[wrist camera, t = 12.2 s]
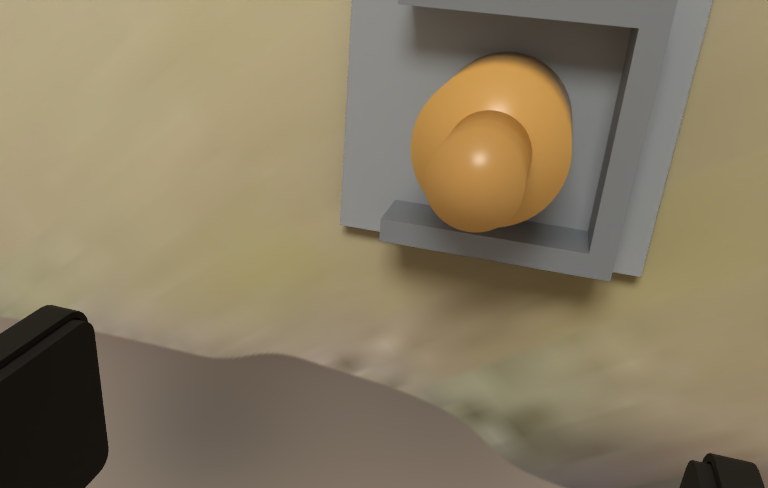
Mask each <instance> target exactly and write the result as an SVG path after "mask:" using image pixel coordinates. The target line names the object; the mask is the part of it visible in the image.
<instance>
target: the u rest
mask: <svg viewBox="0 0 768 488" xmlns="http://www.w3.org/2000/svg"><path fill="white" fill-rule="evenodd" d="M712 2H713V0H352V8H351V27H350V46H349V65H348V84H347V103H346V122H345V141H344V160H343V179H342V198H341V217H340V225H344V226H349V227H355V228H361V229H367V230H372V231H378V232H380V234H379V241H382V242H388V243H393V244H399V245H405V246H410V247H416V248H422V249H427V250H433V251H439V252H444V253H450V254H456V255H461V256H467V257H473V258H478V259H484V260H490V261H496V262H501V263H507V264H513V265H518V266H524V267H530V268H535V269H541V270H547V271H552V272H558V273H564V274H569V275H575V276H581V277H586V278H592V279H598V280H603V281H609V282H610V281H611V277H612V273H613V272H615V273H620V274H626V275H632V276H638V277H641V275H642V271H643V267H644V263H645V259H646V256H647V252H648V248H649V244H650V240H651V236H652V233H653V229H654V225H655V221H656V217H657V213H658V209H659V206H660V202H661V198H662V194H663V190H664V186H665V183H666V179H667V175H668V171H669V167H670V163H671V160H672V156H673V152H674V148H675V144H676V140H677V136H678V133H679V129H680V125H681V121H682V117H683V113H684V110H685V106H686V102H687V98H688V94H689V90H690V86H691V83H692V79H693V75H694V71H695V67H696V63H697V60H698V56H699V52H700V48H701V44H702V40H703V37H704V33H705V29H706V25H707V21H708V17H709V13H710V10H711V6H712ZM496 52H517V53H522V54H526V55H529V56H532V57H534V58H536V59H538V60H540V61H542V62H543V63H545V64H546V65H548V66H549V67H550V68H551V69H552V70H553V71H554V72H555V73H556V74H557V75H558V77H559V78H560V79H561V81H562V82H563V84H564V85H565V87H566V90H567V92H568V94H569V98H570V101H571V106H572V157H571V165H570V168H569V172H568V175H567V178H566V180H565V182H564V185H563V186H562V188H561V190H560V191H559V193H558V194H557V196H556V197H555V198H554V199H553V201H552V202H551V203H550V204H549V205H548V206H547V207H546V208H545V209H543V210H542V211H541V212H539V213H538V214H537V215H535V216H533V217H531V218H530V219H528V220H525V221H523V222H520V223H518V224H514V225H511V226H506V227H498V228H496V229H493V230H490V231H486V232H466V231H462V230H459V229H456V228H454V227H452V226H450V225H448V224H447V223H445V222H444V221H443V220H441V219H440V218H439V217H438V216H437V215H436V213H435V212H434V211H433V209H432V208H431V206H430V204H429V202H428V200H427V197H426V194H425V193H424V191H423V190H422V188H421V186H420V184H419V182H418V181H417V178H416V175H415V173H414V169H413V165H412V160H411V138H412V132H413V129H414V125H415V122H416V120H417V118H418V115H419V113H420V111H421V110H422V108H423V107H424V105H425V104H426V102H427V101H428V100H429V99H430V98H431V96H432V95H433V94H434V93H436V92H437V91H438V90H439V89H440V88H441V87H442V86H443V85H444V84H445V83H447V82H448V81H449V80H450V79H451V78H452V77H453V76H454V75H455V74H457V73H458V72H459V71H460V70H461V69H462V68H463V67H465V66H466V65H467V64H469V63H470V62H472V61H474V60H476V59H477V58H479V57H482V56H485V55H487V54H492V53H496Z"/></svg>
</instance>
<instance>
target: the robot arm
mask: <svg viewBox="0 0 768 488" xmlns="http://www.w3.org/2000/svg"><path fill="white" fill-rule="evenodd" d="M107 457H108V441H107V432H106V424H105V416H104V407H103V399H102V391H101V382H100V375H99V366H98V358H97V349H96V341H95V332H94V328H93V326H92V325H91V324H90V323H88V320H87V317H86V316H85V315H84V313H82V312H80V311H76V310H71V309H67V308H62V307H58V306H53V305H46V306H44V307H42V308H40V309H38V310H37V311H35V312H33V313H32V314H30V315H29V316H27V317H26V318H24V319H23V320H21V321H20V322H18V323H16V324H15V325H13V326H12V327H10V328H8V329H7V330H5V331H4V332H3V333H1V334H0V488H85V487H86V486H87V485H88V484H89V483H90V482H91V481H92V480H93V479H94V478H95V476H96V475H97V474H98V473H99V472H100V471H101V470H102V468H103V466H104V465H105V463H106V460H107ZM680 488H765V487H764V484H763V481H762V478H761V476H760V473H759V470H758V468H757V466H756V465H755V464H754V463H752V462H747V461H743V460H738V459H734V458H729V457H725V456H720V455H716V454H712V453H709V454H707V455H706V456H705V457H704V459H703V461H702V462H698V461H694V460H691V461H690V462H689V463H688V465H687V467H686V470H685V473H684V476H683V479H682V482H681V485H680Z"/></svg>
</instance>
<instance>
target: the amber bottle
mask: <svg viewBox="0 0 768 488" xmlns="http://www.w3.org/2000/svg"><path fill="white" fill-rule="evenodd" d="M571 157H572V106H571V101H570V98H569V94H568V92H567V90H566V87H565V85H564V84H563V82H562V81H561V79H560V78H559V77H558V75H557V74H556V73H555V72H554V71H553V70H552V69H551V68H550V67H549V66H548V65H546V64H545V63H543V62H542V61H540V60H538V59H536V58H534V57H532V56H529V55H526V54H522V53H517V52H496V53H492V54H487V55H485V56H482V57H479V58H477V59H476V60H474V61H472V62H470V63H469V64H467V65H466V66H465V67H463V68H462V69H461V70H460V71H459V72H458V73H457V74H455V75H454V76H453V77H452V78H451V79H450V80H449V81H448V82H447V83H445V84H444V85H443V86H442V87H441V88H440V89H439V90H438V91H437V92H436V93H434V94H433V95H432V96H431V98H430V99H429V100H428V101H427V102H426V104H425V105H424V107H423V108H422V110H421V111H420V113H419V115H418V118H417V120H416V122H415V125H414V129H413V132H412V138H411V160H412V165H413V169H414V173H415V175H416V178H417V181H418V182H419V184H420V186H421V188H422V190H423V191H424V193H425V194H426V197H427V200H428V202H429V204H430V206H431V208H432V209H433V211H434V212H435V213H436V215H437V216H438V217H439V218H440V219H441V220H443V221H444V222H445V223H447V224H448V225H450V226H452V227H454V228H456V229H459V230H462V231H466V232H486V231H490V230H493V229H496V228H498V227H506V226H511V225H514V224H518V223H520V222H523V221H525V220H528V219H530V218H531V217H533V216H535V215H537V214H538V213H539V212H541V211H542V210H543V209H545V208H546V207H547V206H548V205H549V204H550V203H551V202H552V201H553V199H554V198H555V197H556V196H557V194H558V193H559V191H560V190H561V188H562V186H563V185H564V182H565V180H566V178H567V175H568V172H569V168H570V165H571Z"/></svg>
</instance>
